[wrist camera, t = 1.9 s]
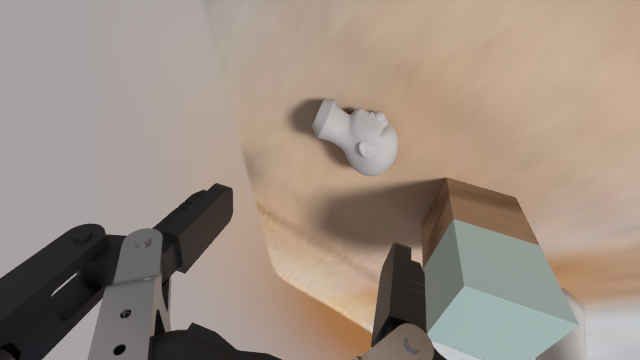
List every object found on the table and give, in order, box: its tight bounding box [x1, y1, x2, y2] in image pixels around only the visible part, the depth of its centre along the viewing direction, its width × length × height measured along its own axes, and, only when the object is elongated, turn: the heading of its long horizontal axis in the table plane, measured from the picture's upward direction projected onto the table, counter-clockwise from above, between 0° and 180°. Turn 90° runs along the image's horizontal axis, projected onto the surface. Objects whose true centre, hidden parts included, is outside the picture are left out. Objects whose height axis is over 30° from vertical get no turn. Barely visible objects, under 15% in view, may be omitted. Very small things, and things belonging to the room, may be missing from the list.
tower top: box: [423, 219, 579, 360], centre depth 19 cm, size 6×6×6 cm
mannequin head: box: [312, 99, 398, 176], centre depth 24 cm, size 4×8×5 cm
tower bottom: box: [422, 178, 540, 269], centre depth 24 cm, size 6×6×6 cm
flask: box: [535, 290, 587, 360], centre depth 26 cm, size 7×7×10 cm
